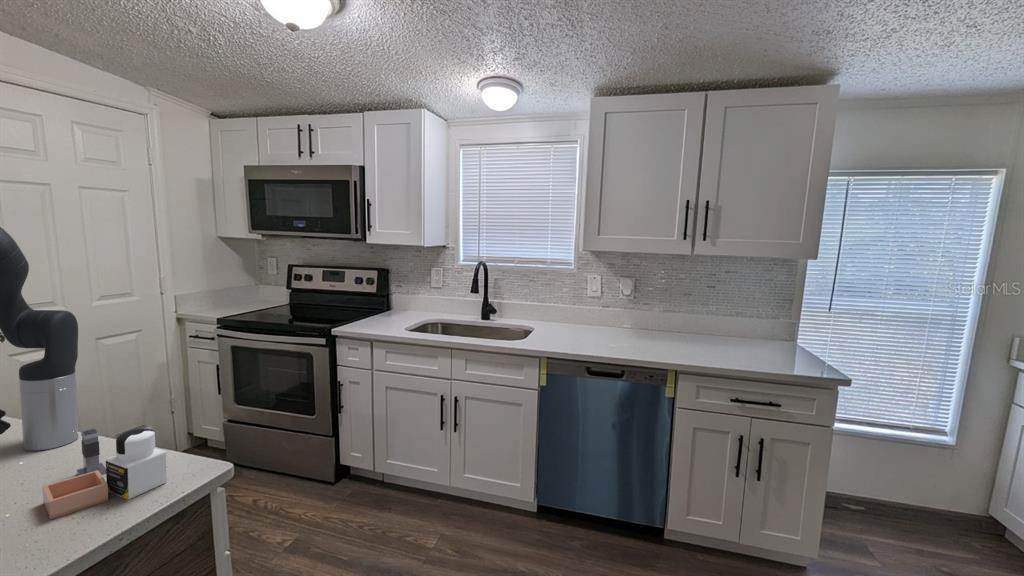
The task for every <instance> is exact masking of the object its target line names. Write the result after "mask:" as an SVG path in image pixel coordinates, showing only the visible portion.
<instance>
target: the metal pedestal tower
mask: <svg viewBox="0 0 1024 576" xmlns="http://www.w3.org/2000/svg"><path fill="white" fill-rule="evenodd" d="M80 434H81V439H82V440H81V454H82V463H83V467H82V468H79V469H76V476H79V475H83V474H86V473H89V472H93V471H96V470H99V472H100V473H101V475H102V476H103V475H105V474H106V465H104V463H103V462H100V454H101V453H100V441H99V436H100V435H99V434H100V433H99V431H98V430H97V429H96V428H91V429H88V430H84V431H83V430H82V431H81V432H80Z"/></svg>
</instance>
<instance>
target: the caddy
mask: <svg viewBox="0 0 1024 576" xmlns="http://www.w3.org/2000/svg"><path fill="white" fill-rule="evenodd" d="M42 499H43V506H44V508H45V510H46V513H47V515H48V517H49V520H51V521H52V520H55V519H57V518H60V517H63V516H66V515H68V514H72V513H75V512H78V511H81V510H84V509H87V508H90V507H92V506H95V505H98V504H101V503H102V504H103V503H105V502H108V501H109V492H108V484H107V480H106V479H105V478H104V477H103V474H102V475H101V473H100V472H99V470H96V471H93V472H89V473H86V474H83V475H79V476H78V475H76V476H73V477H69V478H65V479H62V480H59V481H58V480H57V481H55V482H52V483H48V484H46V485H42Z"/></svg>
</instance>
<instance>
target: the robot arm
mask: <svg viewBox="0 0 1024 576" xmlns="http://www.w3.org/2000/svg"><path fill="white" fill-rule="evenodd" d="M29 270H30V265H29V261H28V260H27V258H26V256H25V254H24V253H23V251H22V250H21V248H20V246H19V245H18V243H17V242H16V240H15V239H14V238H13V237H12V235H10V234H9V233H8V232H7V231H6V230H5V229H4V228H2V226H0V332H1V334H2V335H3V337H4V338H5V340H7V342H8V343H9V344H11V345H12V346H13V347H16V348H19V349H20V348H21V349H44V354H43V357H42V358H41V359H39V360H35V361H32V362H29V363H26V364H25V363H24V364H23V365H21V366H20V368H19V369H18V379H19V392H20V393H19V395H20V410H21V425H22V426H21V428H22V444H23V449H24V450H25V451H29V452H30V451H34V452H35V451H44V450H51V449H54V448H55V449H56V448H59V447H62V446H65V445H68V444H70V443H73V442H75V441H76V440H77V439H79V417H78V398H77V397H78V395H77V394H78V393H77V382H76V381H77V379H76V365H77V360H78V356H79V355H78V353H79V351H78V349H79V348H78V346H79V345H78V344H79V323H78V320H77V318H76V315H74V314H73V313H72V312H71V311H68V310H63V309H62V310H58V309H57V310H56V309H53V310H51V309H50V310H49V309H38V310H37V309H34V308H32V307H31V306H30V305H29V304H28V303H27V302H26V300H25V298H24V297H23V294H22V290H23V287H24V286H25V285H24V284H25V283H26V280H27V278H28V275H29ZM6 415H7V413H6V411H5V410H2V409H1V408H0V436H1V435H3V434H4V433H5V432H6V431H7V430H9V429H10V428H11V423H10V422H8V421H5V420H3V419H2V418H4V417H5V416H6ZM73 431H74V432H73ZM77 432H78V433H77Z"/></svg>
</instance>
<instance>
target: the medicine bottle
mask: <svg viewBox="0 0 1024 576" xmlns="http://www.w3.org/2000/svg"><path fill="white" fill-rule="evenodd" d="M115 447H116V451H115V454H116V455H113V456H110V457H107V458H106V459H105V468H106V473H105V474H106V479H105V480H106V482H107V484H108V493H111V494H113V495H116V496H117V497H121V498H123V499H125V500H127V501H129V500H131V499H133V498H135V497H137V496H140V495H142V494H144V493H146V492H149V491H151V490H154V489H155V488H157V487H159V486H160V487H161V486H162V485H164V484H165V483H167V480H168V477H167V474H168V473H167V451H164V450H162V449H159V448H156V433H155V431H154V430H153V429H151V428H137V429H131V430H127V431H125V432H123V433H121V434H120V435H119V436H117V437H116V438H115Z"/></svg>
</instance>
